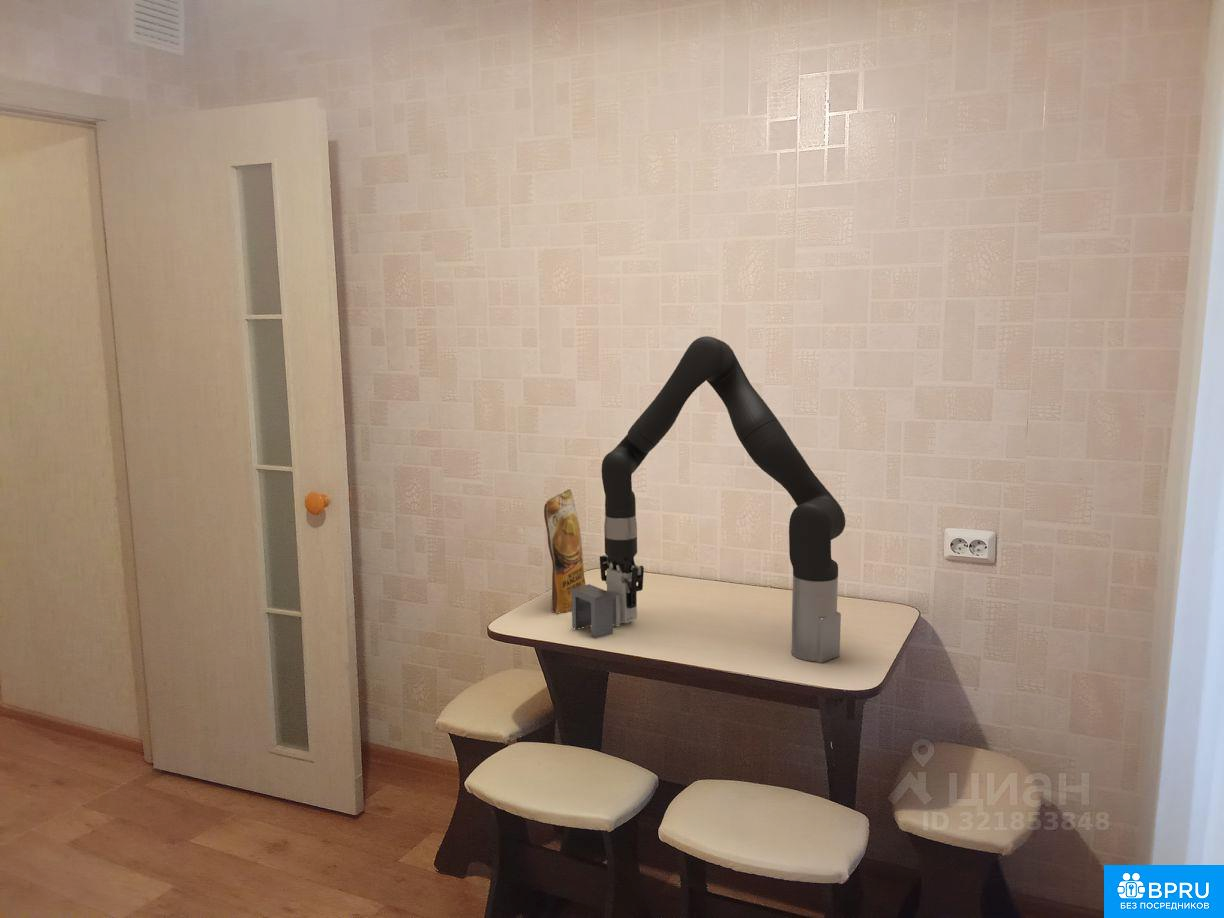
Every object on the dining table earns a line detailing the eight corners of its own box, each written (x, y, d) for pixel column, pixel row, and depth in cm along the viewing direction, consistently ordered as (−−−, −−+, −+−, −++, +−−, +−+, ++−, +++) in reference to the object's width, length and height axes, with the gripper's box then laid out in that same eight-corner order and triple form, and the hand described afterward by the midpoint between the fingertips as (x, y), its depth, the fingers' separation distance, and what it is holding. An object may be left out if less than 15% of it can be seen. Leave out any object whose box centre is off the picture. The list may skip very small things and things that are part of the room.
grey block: (621, 624, 212) (620, 595, 211) (600, 630, 209) (600, 600, 207) (596, 613, 220) (595, 585, 219) (575, 619, 216) (575, 590, 215)
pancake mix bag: (537, 614, 222) (534, 501, 217) (572, 591, 239) (569, 486, 235) (562, 617, 219) (559, 503, 215) (595, 594, 237) (593, 488, 232)
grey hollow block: (634, 627, 212) (634, 587, 211) (595, 638, 205) (594, 597, 204) (603, 614, 222) (603, 576, 220) (564, 624, 215) (564, 585, 213)
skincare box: (637, 619, 215) (637, 569, 213) (625, 624, 212) (624, 573, 210) (618, 613, 219) (618, 565, 217) (606, 618, 216) (605, 568, 214)
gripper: (653, 537, 209) (653, 608, 211) (614, 526, 220) (615, 593, 223) (627, 543, 204) (628, 615, 207) (589, 531, 216) (590, 599, 218)
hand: (621, 603), depth 215 cm, fingers closed on skincare box, 6 cm apart
